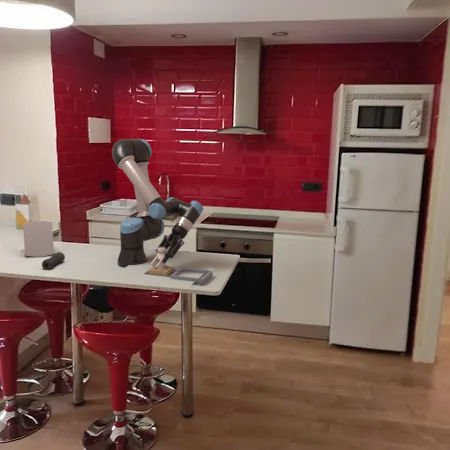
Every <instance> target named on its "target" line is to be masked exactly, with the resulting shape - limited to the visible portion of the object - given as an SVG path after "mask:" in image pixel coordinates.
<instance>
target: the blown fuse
mask: <svg viewBox="0 0 450 450" xmlns="http://www.w3.org/2000/svg"><path fill="white" fill-rule="evenodd" d="M156 249H157V252H158V263H159V261H160V260H161V258H162V257H163V255H164V254H166V253H167V250H166V248H165V247H157V248H156ZM157 252H156V253H157ZM158 263H157V264H158ZM158 269H159V268H158ZM159 270H166V263H164V265H163V266H162V268H161V269H159Z"/></svg>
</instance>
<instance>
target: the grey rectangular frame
mask: <svg viewBox="0 0 450 450" xmlns="http://www.w3.org/2000/svg"><path fill="white" fill-rule="evenodd" d="M176 270H177V271H176V272H175V273H173V274H172V275H171V277H170V280H177V281H184V282H185V281H186V282H193V283H192V285H193V284H200V285H199V286H202V285H203V286H204V285H206V284H207V281H208V280H209V279H210V278H211V277H212V276H213V275H214V274H213V272H214V271H213V270H208V269H201V268H200V269H199V268H191V267H180V268H179V269H176ZM183 272H186V273H187V272H188V273H197V274H202V275H200V276H199V277H192V276H183V275H180V274H181V273H183ZM212 278H213V277H212ZM212 278H211V279H212ZM211 279H210V280H211ZM208 282H209V281H208Z"/></svg>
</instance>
